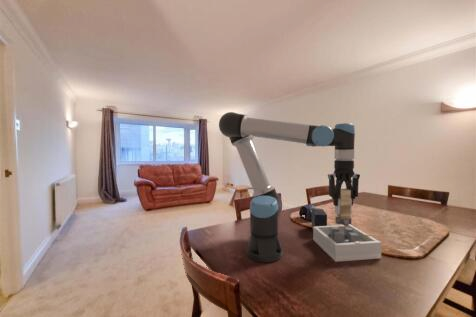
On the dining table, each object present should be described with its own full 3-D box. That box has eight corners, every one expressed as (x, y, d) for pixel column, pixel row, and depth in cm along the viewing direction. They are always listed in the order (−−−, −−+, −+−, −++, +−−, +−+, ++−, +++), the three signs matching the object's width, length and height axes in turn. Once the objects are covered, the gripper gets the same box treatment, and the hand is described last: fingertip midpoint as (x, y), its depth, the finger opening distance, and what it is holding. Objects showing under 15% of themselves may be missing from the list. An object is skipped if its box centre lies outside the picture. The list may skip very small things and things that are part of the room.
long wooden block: (354, 225, 85) (354, 190, 84) (339, 225, 85) (339, 190, 84) (347, 220, 91) (347, 187, 90) (333, 220, 91) (333, 188, 90)
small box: (327, 235, 102) (327, 214, 101) (314, 234, 103) (314, 214, 103) (323, 227, 112) (323, 208, 112) (311, 226, 114) (311, 208, 113)
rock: (295, 212, 130) (303, 199, 128) (307, 218, 133) (315, 205, 131) (303, 222, 119) (312, 208, 118) (316, 227, 122) (325, 214, 121)
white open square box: (335, 261, 78) (335, 244, 78) (313, 239, 97) (313, 225, 97) (381, 258, 80) (381, 241, 79) (350, 237, 99) (350, 223, 98)
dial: (369, 251, 81) (370, 238, 80) (332, 249, 83) (332, 236, 83) (357, 237, 93) (357, 226, 93) (324, 235, 96) (324, 224, 96)
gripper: (357, 159, 91) (356, 209, 92) (320, 159, 90) (319, 210, 91) (369, 160, 84) (368, 215, 85) (329, 160, 82) (328, 216, 83)
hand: (343, 212), depth 88 cm, fingers closed on long wooden block, 4 cm apart
